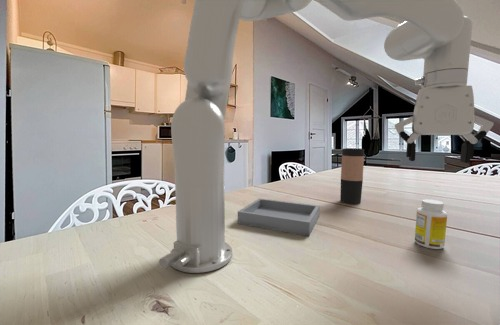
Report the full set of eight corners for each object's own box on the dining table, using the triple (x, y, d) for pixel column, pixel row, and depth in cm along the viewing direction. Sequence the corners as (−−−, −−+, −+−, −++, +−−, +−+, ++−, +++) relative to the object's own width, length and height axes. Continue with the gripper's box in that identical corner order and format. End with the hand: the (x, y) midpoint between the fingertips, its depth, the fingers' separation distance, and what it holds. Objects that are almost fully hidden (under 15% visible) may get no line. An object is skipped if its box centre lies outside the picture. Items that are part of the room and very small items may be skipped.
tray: (309, 236, 61) (309, 222, 60) (237, 223, 69) (237, 211, 69) (319, 216, 75) (319, 205, 75) (259, 208, 84) (259, 198, 83)
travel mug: (335, 199, 95) (337, 148, 93) (351, 198, 98) (354, 148, 95) (348, 205, 88) (351, 149, 86) (366, 203, 90) (369, 149, 88)
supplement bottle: (447, 245, 56) (451, 202, 55) (440, 252, 53) (444, 206, 52) (418, 237, 60) (422, 197, 59) (410, 243, 57) (414, 200, 56)
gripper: (399, 82, 53) (394, 161, 55) (507, 74, 46) (497, 165, 47) (395, 88, 59) (390, 158, 61) (488, 81, 52) (480, 161, 54)
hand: (437, 161), depth 54 cm, fingers open, 9 cm apart
